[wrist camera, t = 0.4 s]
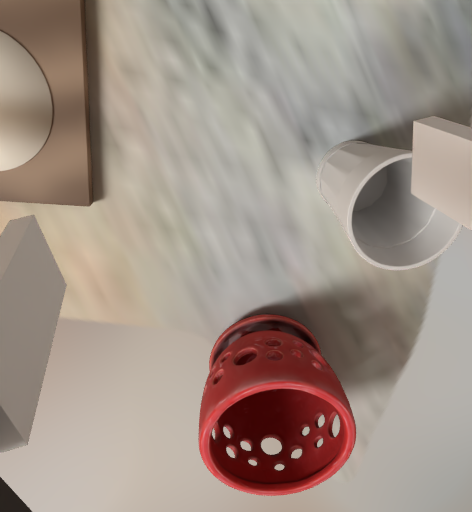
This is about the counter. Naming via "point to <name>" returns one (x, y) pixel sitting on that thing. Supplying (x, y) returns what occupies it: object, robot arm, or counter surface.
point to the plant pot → (272, 408)
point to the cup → (382, 206)
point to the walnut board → (44, 103)
